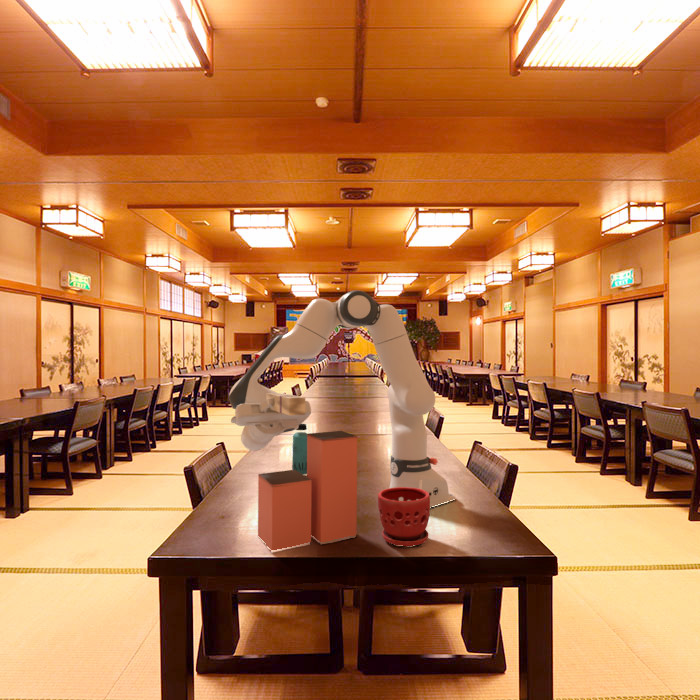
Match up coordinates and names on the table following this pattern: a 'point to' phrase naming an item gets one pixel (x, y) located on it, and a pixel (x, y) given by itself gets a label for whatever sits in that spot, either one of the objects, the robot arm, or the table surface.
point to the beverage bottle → (300, 450)
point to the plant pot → (404, 515)
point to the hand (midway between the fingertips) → (281, 400)
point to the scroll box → (287, 403)
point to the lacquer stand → (311, 495)
